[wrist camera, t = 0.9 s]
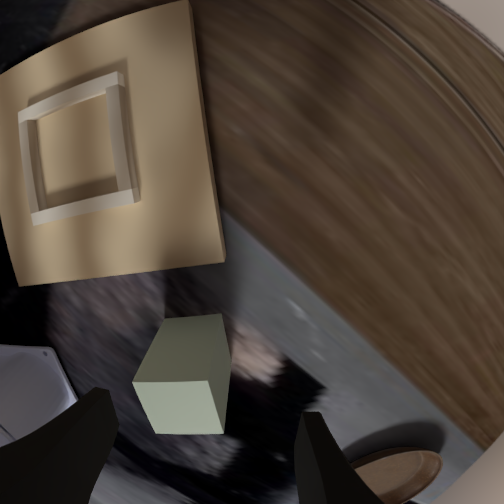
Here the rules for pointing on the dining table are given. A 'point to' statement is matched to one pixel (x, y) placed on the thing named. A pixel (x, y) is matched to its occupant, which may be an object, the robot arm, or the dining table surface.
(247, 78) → the dining table surface
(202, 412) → the sage block
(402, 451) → the saucer
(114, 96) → the display plinth
